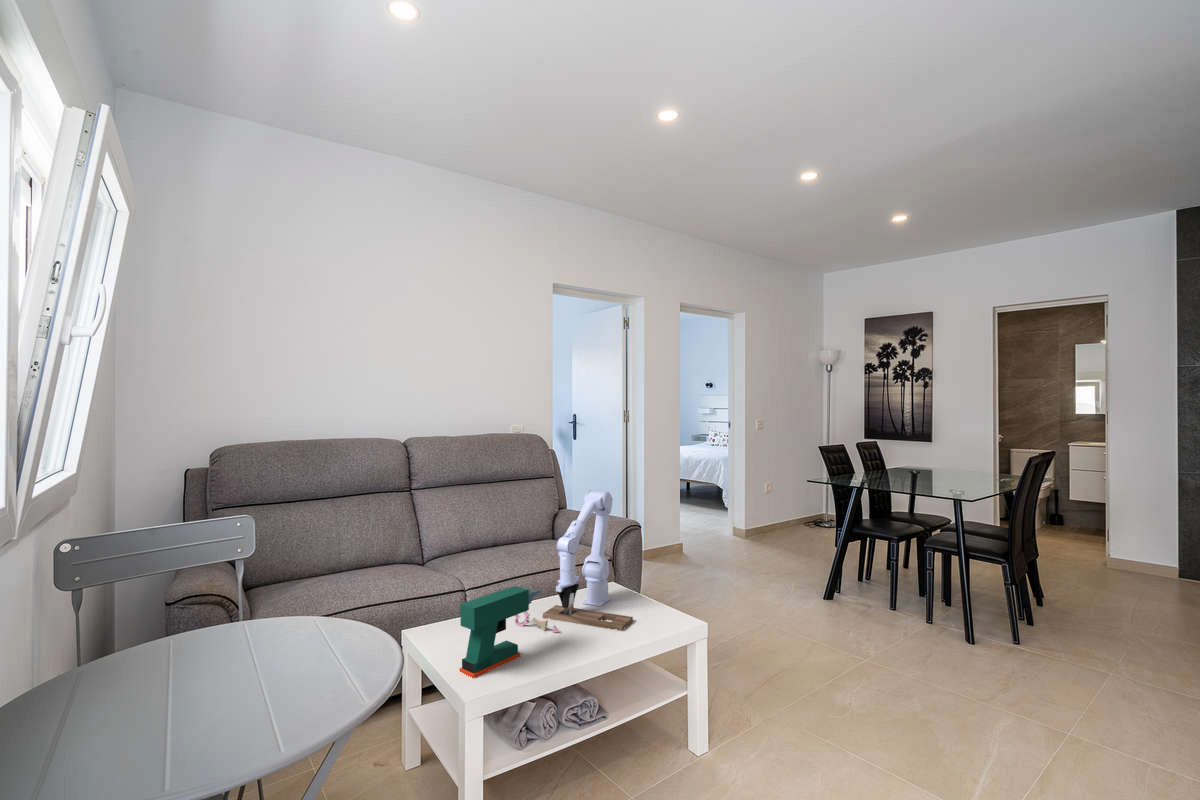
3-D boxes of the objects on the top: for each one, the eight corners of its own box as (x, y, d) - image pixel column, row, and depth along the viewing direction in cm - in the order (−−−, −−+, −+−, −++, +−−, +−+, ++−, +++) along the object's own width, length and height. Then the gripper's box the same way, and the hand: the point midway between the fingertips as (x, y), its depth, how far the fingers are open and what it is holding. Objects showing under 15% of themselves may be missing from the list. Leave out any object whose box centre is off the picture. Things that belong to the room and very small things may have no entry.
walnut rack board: (556, 608, 221) (555, 605, 221) (632, 621, 208) (632, 616, 208) (542, 617, 212) (542, 613, 212) (622, 630, 199) (622, 626, 199)
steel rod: (567, 611, 216) (567, 590, 216) (575, 613, 214) (575, 592, 214) (562, 614, 213) (562, 593, 213) (570, 616, 211) (570, 595, 211)
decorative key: (558, 642, 197) (512, 623, 206) (560, 641, 198) (514, 622, 207) (561, 624, 196) (514, 605, 206) (563, 622, 197) (516, 604, 207)
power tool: (535, 637, 194) (535, 578, 194) (550, 642, 190) (550, 582, 190) (458, 671, 169) (457, 603, 170) (473, 678, 165) (472, 608, 165)
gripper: (567, 563, 222) (567, 598, 222) (548, 573, 209) (548, 610, 209) (583, 565, 219) (584, 600, 219) (565, 575, 206) (565, 613, 206)
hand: (568, 605), depth 213 cm, fingers closed on steel rod, 4 cm apart
